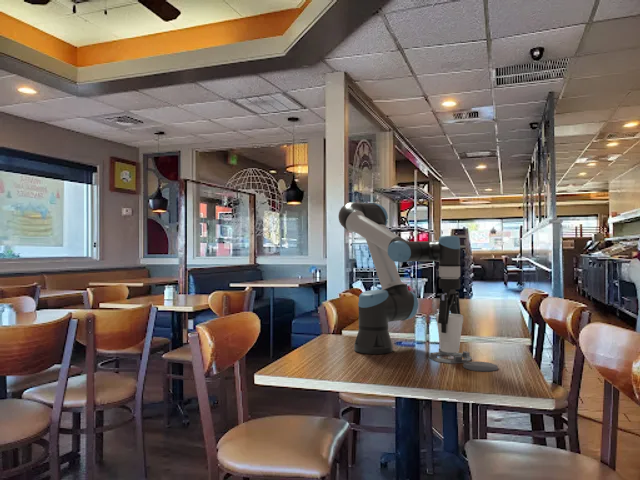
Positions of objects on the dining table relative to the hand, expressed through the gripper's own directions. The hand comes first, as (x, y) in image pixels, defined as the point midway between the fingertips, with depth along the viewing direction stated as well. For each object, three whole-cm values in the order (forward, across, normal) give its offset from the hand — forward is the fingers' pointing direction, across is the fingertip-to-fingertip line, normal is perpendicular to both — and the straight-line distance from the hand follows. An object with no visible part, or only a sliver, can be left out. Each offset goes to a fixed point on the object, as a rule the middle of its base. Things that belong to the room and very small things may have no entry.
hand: (449, 339), depth 178 cm
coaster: (+7, +7, +13) cm, 16 cm away
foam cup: (+4, 0, 0) cm, 4 cm away
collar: (+7, 0, 0) cm, 7 cm away
